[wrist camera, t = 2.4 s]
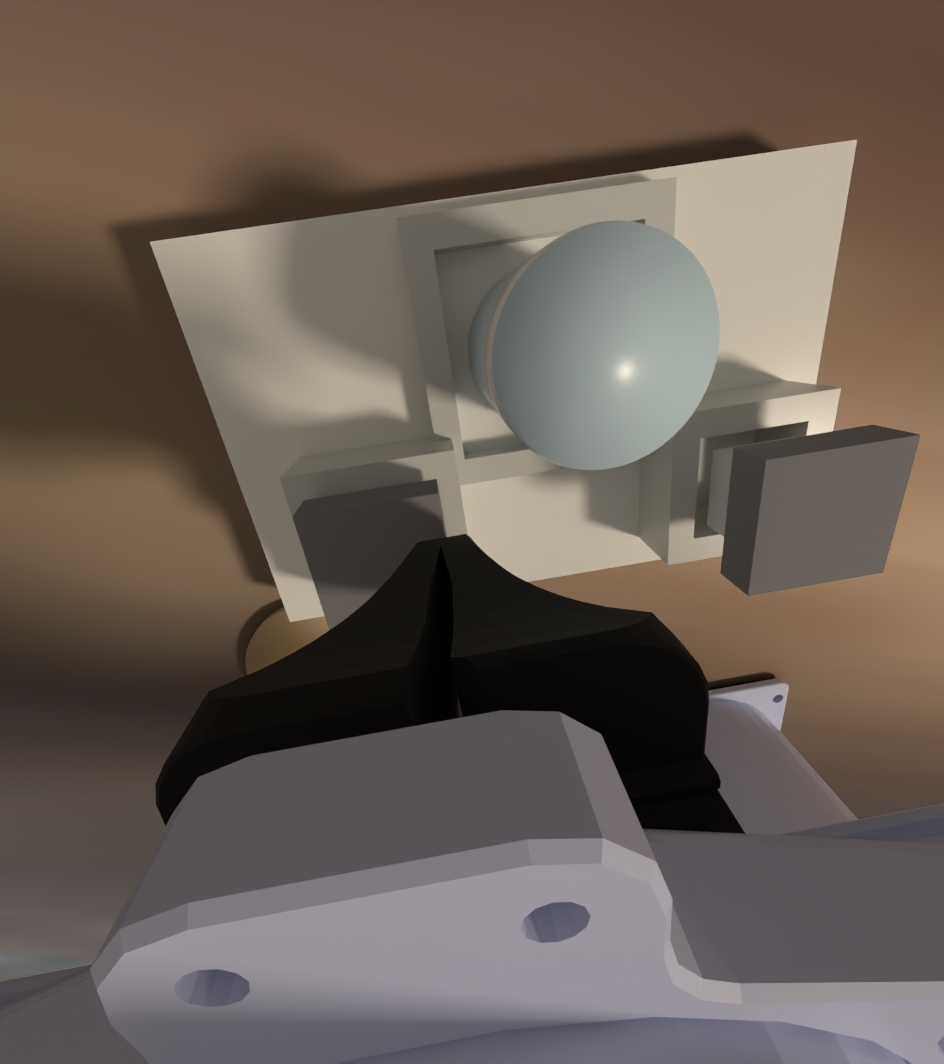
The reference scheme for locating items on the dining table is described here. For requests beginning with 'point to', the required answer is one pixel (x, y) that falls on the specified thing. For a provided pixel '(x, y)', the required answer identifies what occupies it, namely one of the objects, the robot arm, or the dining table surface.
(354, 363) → the housing
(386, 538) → the plunger
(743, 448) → the plunger
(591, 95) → the dining table surface
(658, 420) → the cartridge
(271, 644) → the coaster
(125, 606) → the dining table surface
